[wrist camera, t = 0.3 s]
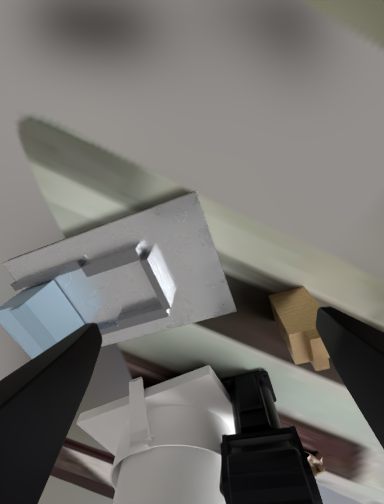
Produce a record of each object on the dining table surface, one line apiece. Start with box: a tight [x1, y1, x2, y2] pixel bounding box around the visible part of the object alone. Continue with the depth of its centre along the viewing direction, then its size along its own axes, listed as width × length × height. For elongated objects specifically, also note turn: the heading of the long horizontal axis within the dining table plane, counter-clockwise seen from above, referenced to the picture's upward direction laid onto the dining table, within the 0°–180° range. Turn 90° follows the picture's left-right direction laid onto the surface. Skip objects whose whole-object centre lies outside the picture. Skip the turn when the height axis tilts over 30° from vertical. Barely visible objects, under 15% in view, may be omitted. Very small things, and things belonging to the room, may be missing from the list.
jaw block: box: [269, 286, 330, 371], centre depth 21 cm, size 4×4×7 cm
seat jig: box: [3, 191, 236, 347], centre depth 23 cm, size 14×22×3 cm, turn 110°
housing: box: [0, 280, 84, 359], centre depth 22 cm, size 7×4×5 cm, turn 20°
